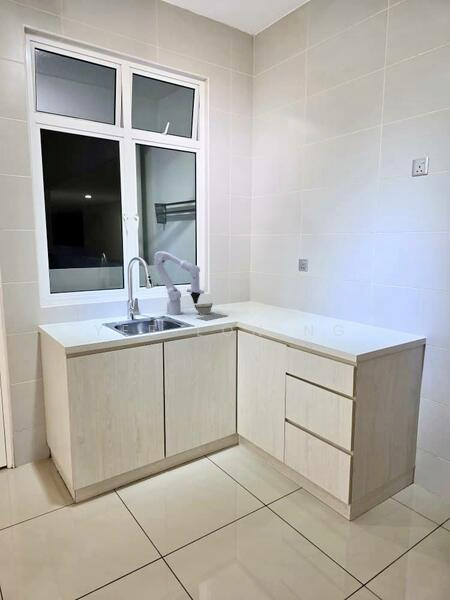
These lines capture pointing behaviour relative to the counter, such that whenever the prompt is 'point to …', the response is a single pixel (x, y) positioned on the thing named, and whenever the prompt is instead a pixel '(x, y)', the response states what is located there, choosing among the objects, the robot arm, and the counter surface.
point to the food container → (203, 308)
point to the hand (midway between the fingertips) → (195, 303)
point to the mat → (212, 317)
